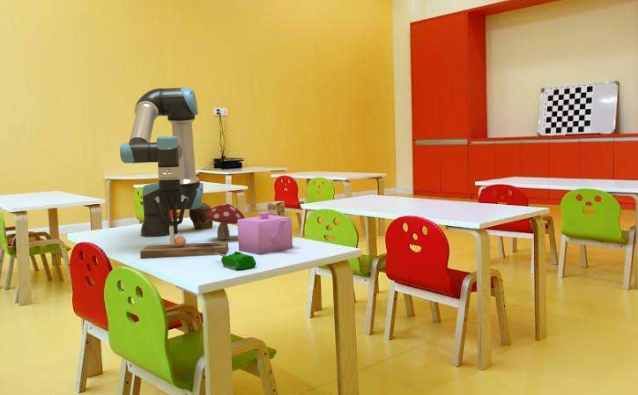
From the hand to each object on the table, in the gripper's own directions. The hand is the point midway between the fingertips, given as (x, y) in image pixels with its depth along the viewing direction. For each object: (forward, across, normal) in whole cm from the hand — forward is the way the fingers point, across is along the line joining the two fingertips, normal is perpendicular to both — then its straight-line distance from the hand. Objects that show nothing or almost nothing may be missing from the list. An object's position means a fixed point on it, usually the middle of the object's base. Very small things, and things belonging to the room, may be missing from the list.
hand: (172, 243), depth 210 cm
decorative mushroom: (+4, +17, +26) cm, 32 cm away
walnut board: (+4, +4, 0) cm, 6 cm away
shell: (+4, +3, +63) cm, 63 cm away
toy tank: (+4, +23, -24) cm, 34 cm away
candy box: (+4, +38, +22) cm, 44 cm away
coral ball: (-1, +3, 0) cm, 3 cm away
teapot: (+4, +34, 0) cm, 35 cm away
